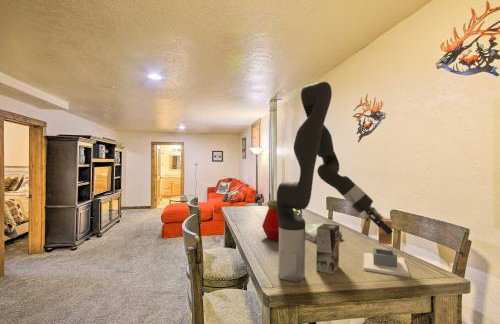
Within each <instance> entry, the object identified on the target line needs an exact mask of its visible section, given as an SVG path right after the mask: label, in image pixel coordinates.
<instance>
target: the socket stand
mask: <svg viewBox="0 0 500 324" xmlns="http://www.w3.org/2000/svg"><path fill="white" fill-rule="evenodd" d="M372 250H373V251H372V253H369V252H363V271H367V272H374V273H379V274H386V275H391V276H399V277H406V278H410V277H411V274H410V272H409V269H408V266H407V264H406V261H405V258H404V257H401V256H400V257H399V256H398V255H397V252H396V250H392V249H383V248H376V247H373V249H372Z"/></svg>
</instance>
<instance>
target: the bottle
mask: <svg viewBox="0 0 500 324" xmlns="http://www.w3.org/2000/svg"><path fill="white" fill-rule="evenodd" d="M266 204H267V207H268V210H267V212H266V214H265V217H264V220H263V223H262V229H263V232H264V234H265V236H266V237H267V239H268V240H270V241H273V242H279V221H278V217H277V199H269V200H268V201H267V203H266Z"/></svg>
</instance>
